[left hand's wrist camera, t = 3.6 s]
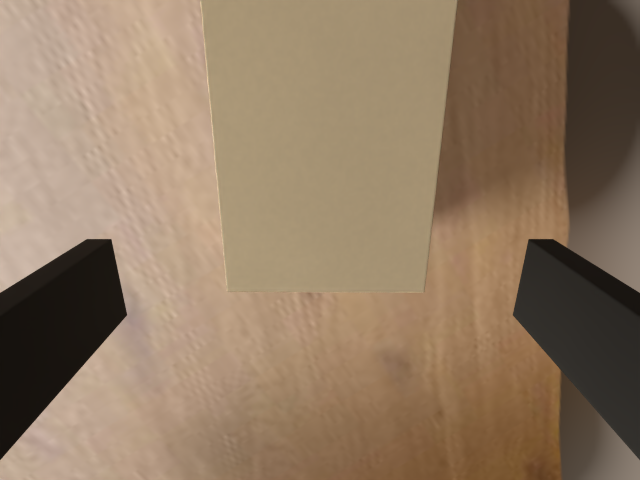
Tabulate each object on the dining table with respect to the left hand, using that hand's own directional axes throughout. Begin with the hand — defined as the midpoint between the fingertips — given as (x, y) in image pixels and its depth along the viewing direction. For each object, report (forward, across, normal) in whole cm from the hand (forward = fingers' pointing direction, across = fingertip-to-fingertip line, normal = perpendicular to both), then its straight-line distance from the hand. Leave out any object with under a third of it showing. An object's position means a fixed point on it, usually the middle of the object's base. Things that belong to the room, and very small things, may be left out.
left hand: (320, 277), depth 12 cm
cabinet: (+17, 0, -6) cm, 18 cm away
